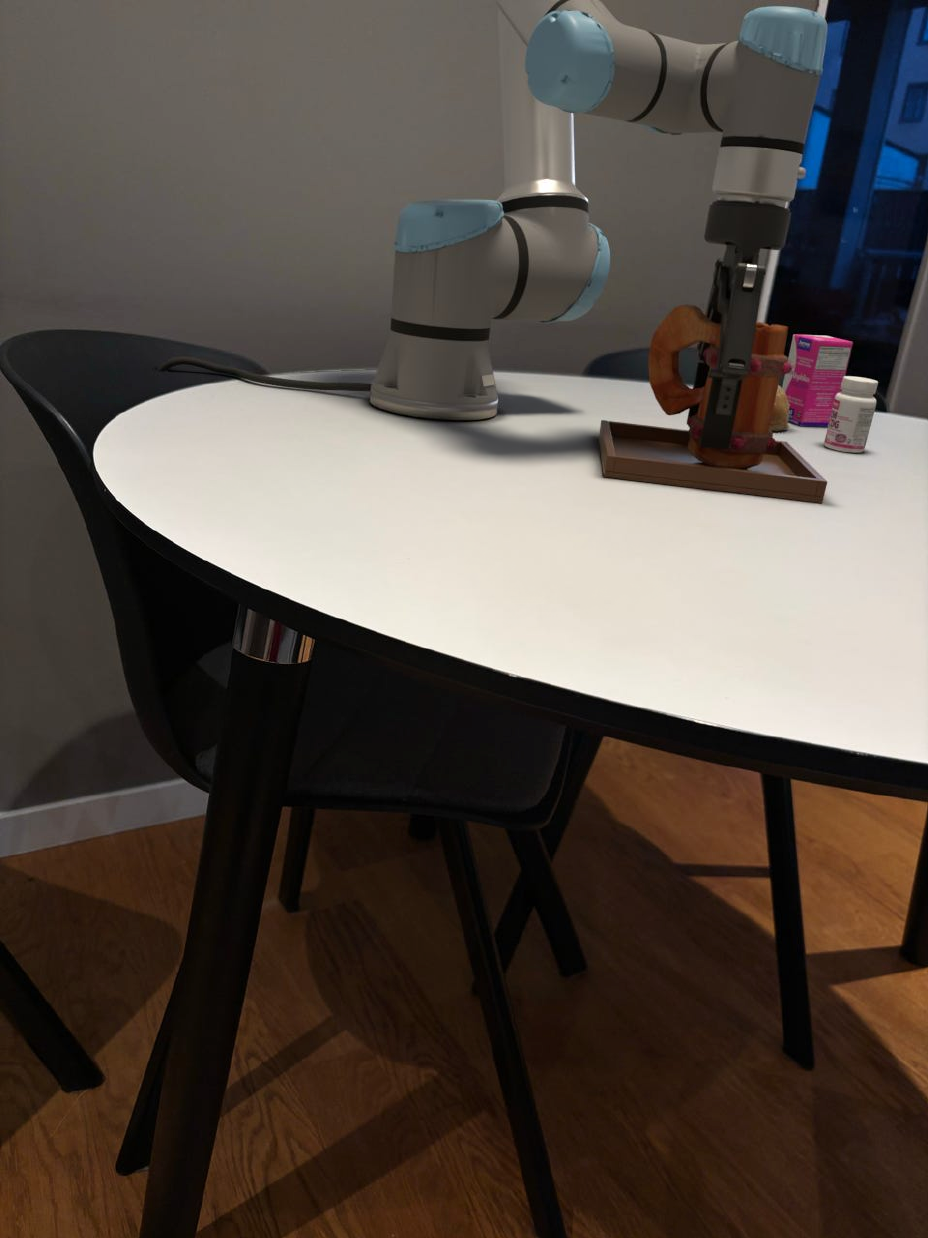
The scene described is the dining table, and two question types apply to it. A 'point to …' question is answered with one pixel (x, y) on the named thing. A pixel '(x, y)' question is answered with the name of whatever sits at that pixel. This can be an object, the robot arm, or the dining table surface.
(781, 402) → the bread roll
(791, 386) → the supplement box
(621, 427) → the tray
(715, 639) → the dining table surface
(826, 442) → the pill bottle
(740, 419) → the mug
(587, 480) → the dining table surface
